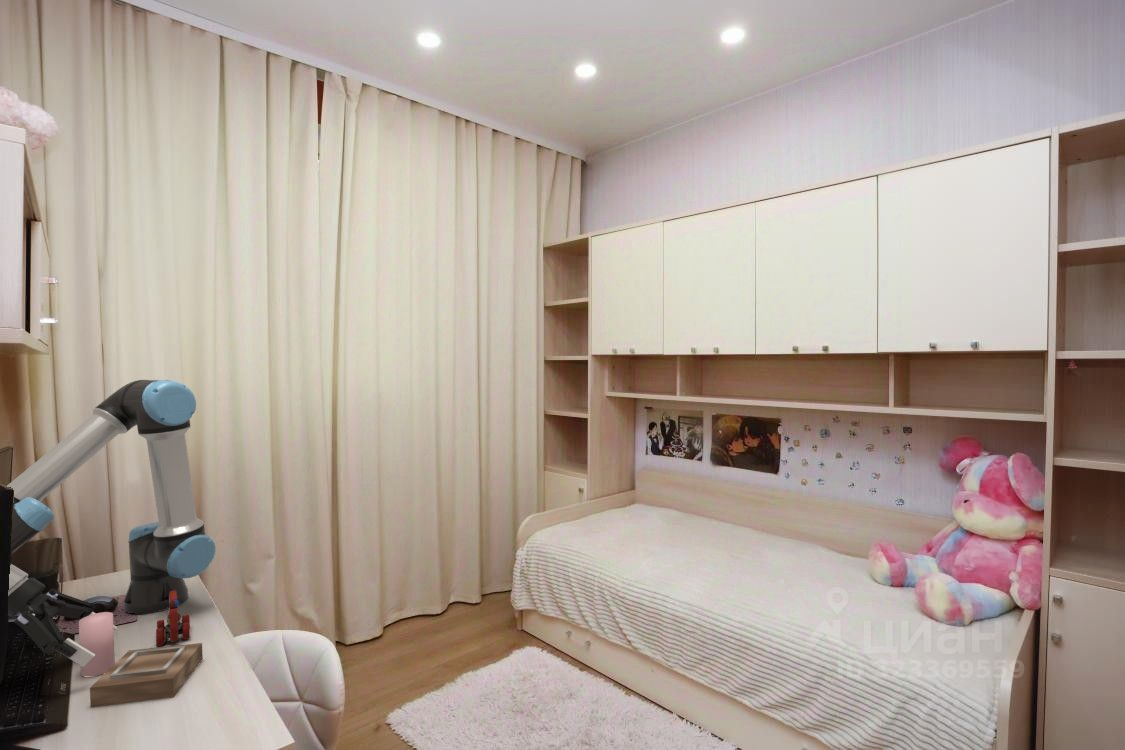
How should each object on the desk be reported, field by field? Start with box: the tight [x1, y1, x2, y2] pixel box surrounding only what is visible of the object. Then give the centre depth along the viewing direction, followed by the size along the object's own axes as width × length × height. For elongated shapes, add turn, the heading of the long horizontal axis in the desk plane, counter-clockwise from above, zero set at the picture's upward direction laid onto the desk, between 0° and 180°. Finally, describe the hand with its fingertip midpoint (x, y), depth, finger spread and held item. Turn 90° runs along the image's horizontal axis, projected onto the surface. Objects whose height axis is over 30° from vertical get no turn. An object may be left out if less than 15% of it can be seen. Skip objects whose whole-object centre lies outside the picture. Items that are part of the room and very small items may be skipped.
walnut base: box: [89, 642, 204, 708], centre depth 125 cm, size 15×15×5 cm
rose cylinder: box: [78, 611, 116, 677], centre depth 130 cm, size 6×6×12 cm
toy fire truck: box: [155, 590, 191, 647], centre depth 144 cm, size 7×12×10 cm, turn 34°
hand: (101, 646), depth 130 cm, fingers open, 13 cm apart
